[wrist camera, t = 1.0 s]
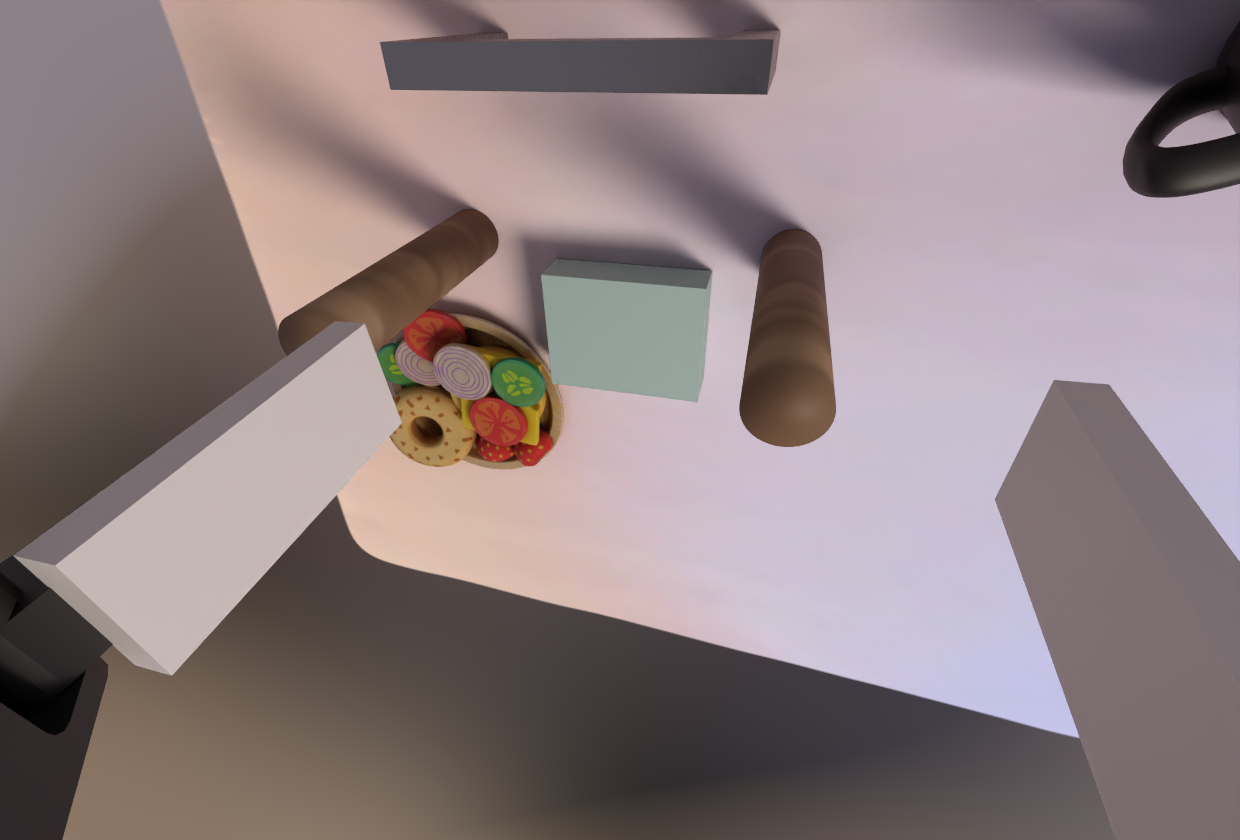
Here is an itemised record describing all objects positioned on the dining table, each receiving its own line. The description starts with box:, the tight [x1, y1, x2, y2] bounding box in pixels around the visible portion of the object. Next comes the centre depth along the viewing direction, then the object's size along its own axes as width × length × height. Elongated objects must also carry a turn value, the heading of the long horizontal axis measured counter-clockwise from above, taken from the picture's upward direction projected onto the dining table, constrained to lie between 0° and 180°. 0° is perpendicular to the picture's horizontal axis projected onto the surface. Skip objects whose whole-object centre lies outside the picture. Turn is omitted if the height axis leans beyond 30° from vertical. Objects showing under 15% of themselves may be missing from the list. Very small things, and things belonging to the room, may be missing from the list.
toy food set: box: [377, 309, 564, 469], centre depth 39 cm, size 13×13×3 cm
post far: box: [278, 209, 498, 356], centre depth 27 cm, size 3×3×14 cm
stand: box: [541, 259, 712, 402], centre depth 33 cm, size 7×9×2 cm
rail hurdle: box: [380, 30, 781, 95], centre depth 22 cm, size 2×14×8 cm, turn 92°
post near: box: [739, 229, 836, 447], centre depth 24 cm, size 3×3×14 cm
